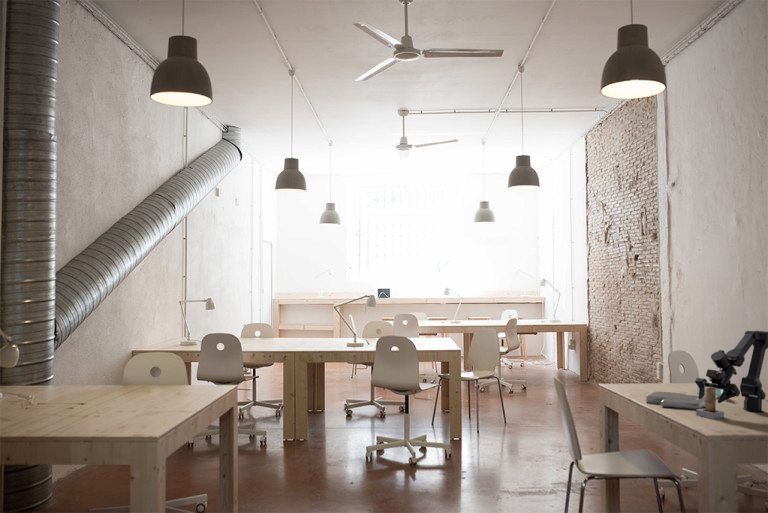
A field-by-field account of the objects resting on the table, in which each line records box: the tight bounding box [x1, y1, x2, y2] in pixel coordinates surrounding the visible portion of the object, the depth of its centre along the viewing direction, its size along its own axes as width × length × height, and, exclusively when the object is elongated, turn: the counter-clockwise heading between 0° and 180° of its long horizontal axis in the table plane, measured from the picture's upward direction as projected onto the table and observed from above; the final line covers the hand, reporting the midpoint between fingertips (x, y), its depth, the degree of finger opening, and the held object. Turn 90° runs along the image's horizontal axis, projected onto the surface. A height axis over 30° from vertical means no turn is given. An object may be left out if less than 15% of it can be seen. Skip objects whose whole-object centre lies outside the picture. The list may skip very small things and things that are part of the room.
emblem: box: [645, 391, 705, 410], centre depth 294 cm, size 28×5×28 cm
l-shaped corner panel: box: [696, 384, 727, 402], centre depth 313 cm, size 12×12×8 cm
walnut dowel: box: [704, 387, 717, 412], centre depth 268 cm, size 4×4×13 cm
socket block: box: [695, 408, 725, 420], centre depth 268 cm, size 8×8×2 cm
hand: (708, 400), depth 268 cm, fingers open, 9 cm apart
